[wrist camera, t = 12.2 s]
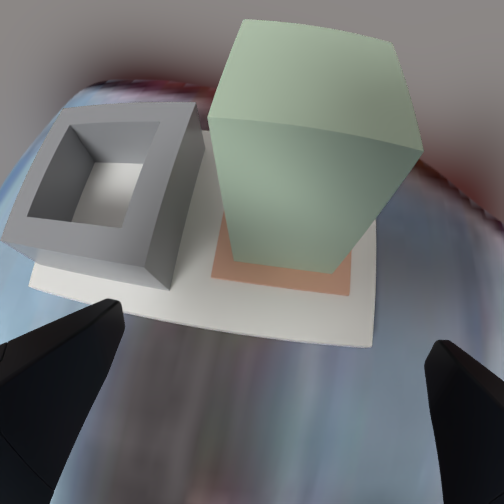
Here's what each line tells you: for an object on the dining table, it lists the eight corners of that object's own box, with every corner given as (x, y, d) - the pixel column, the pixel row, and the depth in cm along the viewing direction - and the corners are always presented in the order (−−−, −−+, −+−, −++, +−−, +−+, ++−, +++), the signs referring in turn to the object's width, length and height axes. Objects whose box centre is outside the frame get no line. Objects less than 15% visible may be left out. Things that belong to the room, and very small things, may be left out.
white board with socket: (365, 348, 15) (407, 340, 11) (37, 290, 16) (-13, 266, 12) (367, 161, 19) (391, 110, 15) (93, 137, 21) (67, 93, 16)
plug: (331, 273, 16) (423, 151, 6) (233, 260, 16) (207, 117, 6) (335, 189, 17) (392, 43, 8) (248, 177, 18) (243, 19, 8)
